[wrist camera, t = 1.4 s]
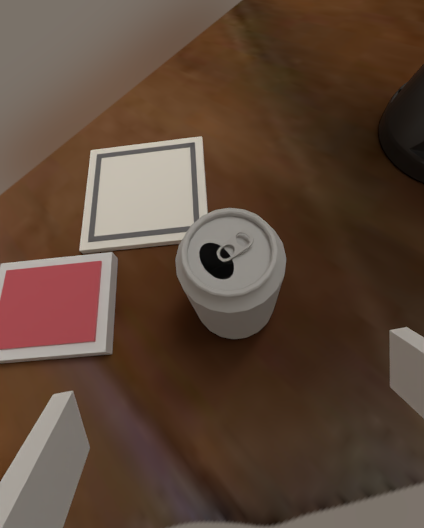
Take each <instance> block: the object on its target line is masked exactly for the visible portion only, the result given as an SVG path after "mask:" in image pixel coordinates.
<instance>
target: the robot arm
mask: <svg viewBox="0 0 424 528" xmlns="http://www.w3.org/2000/svg"><path fill="white" fill-rule="evenodd" d="M379 139H380V142H381V145H382V148H383V150H384V151H385V153H386V155H387V156H388V157H389V159H390V160H391V161H392V162H393V163H394V164H395V165H396V166H397V167H398V168H399V169H401V170H402V171H403V172H405V173H406V174H408V175H409V176H411V177H413V178H414V179H416V180H418V181H421V182H423V183H424V64H423V65H422V66H421V68H420V69H419V70H418V71H417V72H416V73H415V74H414V75H413V77H412V78H411V79H410V80H409V81H408V82H407V83H406V84H404V85H403V86H402V87H401V88H400V89H399V90H398V91H397V92H396V93H395V94H394V95H393V97H392V98H391V100H390V101H389V103H388V105H387V107H386V109H385V111H384V113H383V115H382V118H381V120H380V124H379ZM390 387H391V388H392V389H393V390H394V391H395V392H396V393H397V394H398V395H399V396H400V397H401V398H402V399H403V400H405V401H406V402H407V403H408V404H409V405H410V406H411V407H412V408H413V409H414V410H415V411H416V412H417V413H418V414H419V415H421V416H422V417H423V418H424V337H422V336H421V335H419V334H417V333H416V332H414V331H413V330H411V329H409V328H408V327H404V328H399V329H393V330H390ZM89 449H90V446H89V443H88V439H87V436H86V433H85V429H84V426H83V423H82V419H81V416H80V412H79V409H78V406H77V402H76V399H75V396H74V392H73V391H68V392H63V393H58V394H53V396H52V397H51V399H50V401H49V402H48V404H47V406H46V407H45V409H44V410H43V412H42V414H41V415H40V417H39V419H38V420H37V422H36V424H35V425H34V427H33V429H32V430H31V432H30V434H29V435H28V437H27V439H26V440H25V442H24V444H23V445H22V447H21V449H20V450H19V452H18V454H17V455H16V457H15V458H14V460H13V462H12V463H11V465H10V467H9V468H8V470H7V472H6V473H5V475H4V477H3V478H2V480H1V482H0V528H63V526H64V523H65V520H66V517H67V514H68V511H69V508H70V505H71V502H72V499H73V497H74V494H75V491H76V488H77V485H78V482H79V479H80V476H81V473H82V470H83V467H84V464H85V461H86V458H87V455H88V452H89Z"/></svg>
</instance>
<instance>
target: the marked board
mask: <svg viewBox="0 0 424 528" xmlns="http://www.w3.org/2000/svg"><path fill="white" fill-rule="evenodd" d="M205 214H208V208H207V194H206V180H205V166H204V152H203V140H202V136H200V137H192V138H184V139H176V140H168V141H160V142H153V143H145V144H137V145H129V146H121V147H113V148H105V149H97V150H91V154H90V162H89V171H88V180H87V188H86V197H85V206H84V214H83V223H82V232H81V240H80V249H79V251H80V252H81V253H82V254H86V253H95V252H105V251H115V250H124V249H134V248H143V247H153V246H162V245H172V244H180V242H181V241H182V239H183V238H184V236H185V234H186V233H187V231H188V229H189V228H190V226H191V225H192V224H193V223H194V222H196V221H197V220H198V219H199V218H200V217H201V216H203V215H205Z"/></svg>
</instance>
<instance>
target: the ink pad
mask: <svg viewBox="0 0 424 528" xmlns="http://www.w3.org/2000/svg"><path fill="white" fill-rule="evenodd" d="M117 266H118V258H117V257H116V256H115V255H114V253H113V252H108V253H98V254H89V255H79V256H69V257H60V258H50V259H41V260H31V261H22V262H12V263H2V264H1V267H0V363H12V362H24V361H36V360H48V359H60V358H72V357H84V356H96V355H108V354H112V349H113V333H114V316H115V299H116V283H117Z"/></svg>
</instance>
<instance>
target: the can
mask: <svg viewBox="0 0 424 528" xmlns="http://www.w3.org/2000/svg"><path fill="white" fill-rule="evenodd" d="M175 260H176V272H177V277H178V279H179V281H180V283H181V285H182V288H183V290H184V292H185V293H186V295H187V297H188V299H189V300H190V302H191V304H192V306H193V308H194V309H195V311H196V313H197V315H198V316H199V318H200V320H201V322H202V323H203V324H204V325H205V326H206V327H207V328H208V329H209V330H210V331H211V332H213V333H215V334H217V335H218V336H220V337H224V338H229V339H240V338H247V337H249V336H251V335H253V334H255V333H257V332H259V331H260V330H261V329H262V328H263V327H264V326H265V325H266V324H267V323H268V321H269V319H270V317H271V315H272V313H273V310H274V307H275V304H276V300H277V297H278V294H279V291H280V287H281V284H282V281H283V278H284V274H285V266H286V255H285V251H284V247H283V243H282V241H281V240H280V238H279V236H278V235H277V233H276V232H275V230H274V229H273V228H272V227H270V226H269V224H268V223H267V222H265V221H264V220H263V219H262V218H261V217H259V216H258V215H257V214H254V213H252V212H249V211H247V210H244V209H236V208H225V209H219V210H214V211H212V212H210V213H208V214H205V215H203V216H201V217H200V218H199V219H198V220H197V221H196V222H194V223H193V224H192V225H191V226H190V228H189V229H188V231H187V233H186V234H185V236H184V238H183V239H182V241H181V242H180V244H179V247H178V251H177V255H176V259H175Z"/></svg>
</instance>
